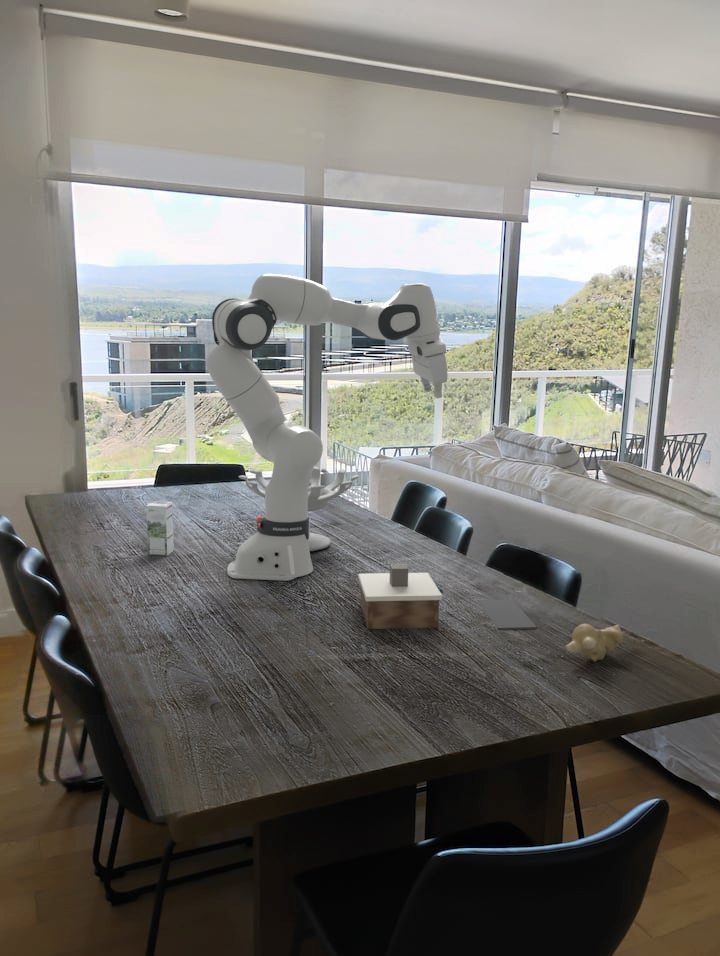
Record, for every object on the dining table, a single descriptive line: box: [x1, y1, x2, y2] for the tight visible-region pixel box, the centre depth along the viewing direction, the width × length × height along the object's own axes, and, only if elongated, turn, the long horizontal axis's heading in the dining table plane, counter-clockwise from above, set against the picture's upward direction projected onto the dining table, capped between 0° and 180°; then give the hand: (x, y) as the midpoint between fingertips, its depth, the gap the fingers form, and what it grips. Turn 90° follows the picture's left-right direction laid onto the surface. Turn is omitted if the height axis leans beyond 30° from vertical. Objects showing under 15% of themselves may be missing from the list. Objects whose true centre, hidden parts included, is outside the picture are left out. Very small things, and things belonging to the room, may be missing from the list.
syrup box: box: [146, 500, 175, 557], centre depth 218 cm, size 6×6×14 cm
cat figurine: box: [565, 623, 624, 663], centre depth 151 cm, size 8×7×12 cm
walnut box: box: [359, 586, 440, 630], centre depth 170 cm, size 15×15×7 cm
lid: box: [357, 563, 443, 601], centre depth 170 cm, size 16×16×6 cm
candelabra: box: [238, 465, 360, 552], centre depth 228 cm, size 34×35×27 cm
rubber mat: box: [476, 598, 538, 631], centre depth 175 cm, size 18×18×1 cm
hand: (433, 394), depth 211 cm, fingers open, 8 cm apart
